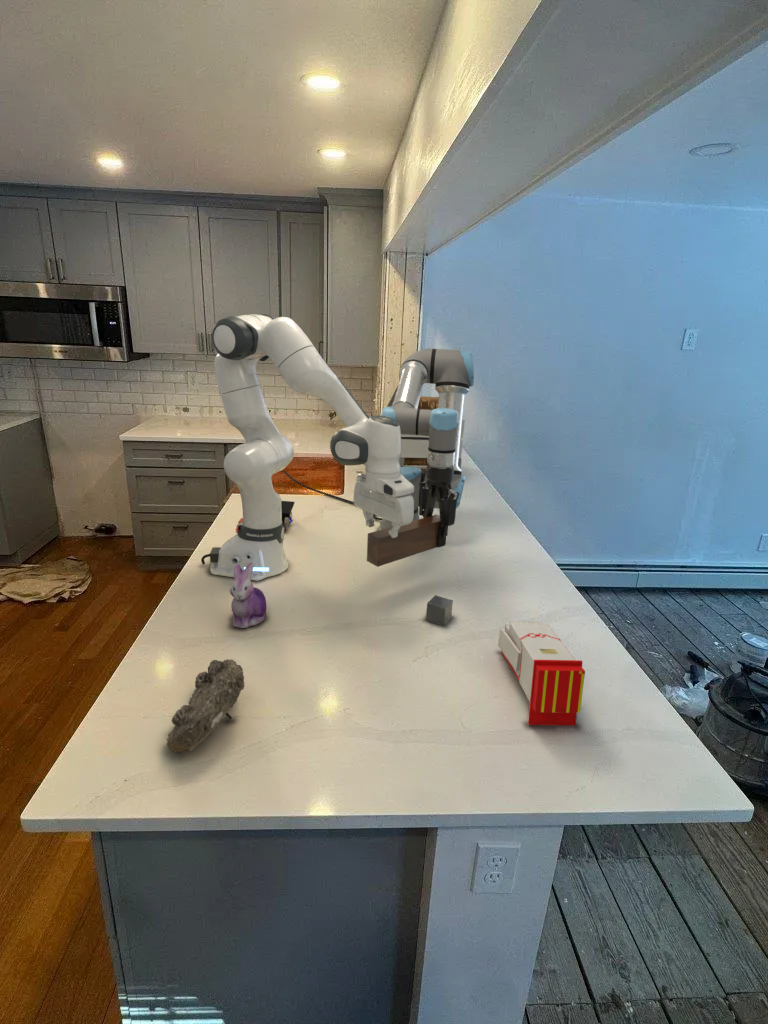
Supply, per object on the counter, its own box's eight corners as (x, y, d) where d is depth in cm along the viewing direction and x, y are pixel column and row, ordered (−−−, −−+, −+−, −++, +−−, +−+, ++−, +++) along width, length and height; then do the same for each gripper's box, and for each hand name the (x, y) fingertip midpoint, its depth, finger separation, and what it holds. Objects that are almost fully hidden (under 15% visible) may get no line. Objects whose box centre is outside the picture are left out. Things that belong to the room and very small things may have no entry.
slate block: (425, 620, 145) (427, 602, 144) (433, 611, 149) (435, 594, 148) (443, 625, 143) (445, 608, 141) (451, 617, 147) (453, 600, 145)
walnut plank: (366, 560, 152) (367, 533, 149) (434, 539, 168) (436, 514, 165) (377, 566, 149) (378, 538, 146) (445, 544, 165) (448, 518, 162)
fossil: (192, 660, 117) (244, 628, 112) (224, 691, 120) (276, 661, 115) (142, 746, 98) (202, 712, 93) (182, 779, 101) (242, 748, 96)
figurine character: (290, 537, 196) (295, 517, 209) (289, 518, 192) (295, 499, 206) (270, 536, 195) (277, 517, 209) (269, 517, 192) (276, 498, 206)
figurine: (235, 633, 135) (232, 576, 130) (225, 613, 144) (222, 559, 139) (273, 625, 139) (272, 570, 134) (262, 606, 148) (260, 553, 143)
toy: (544, 607, 134) (594, 667, 105) (539, 659, 137) (586, 732, 108) (493, 606, 134) (529, 666, 105) (489, 658, 137) (523, 731, 107)
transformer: (382, 463, 289) (386, 382, 275) (445, 464, 293) (451, 384, 279) (390, 482, 257) (394, 392, 243) (460, 483, 261) (468, 394, 247)
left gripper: (348, 473, 150) (347, 522, 154) (400, 492, 135) (397, 546, 140) (366, 469, 153) (365, 517, 158) (419, 488, 139) (416, 540, 144)
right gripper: (408, 460, 161) (404, 536, 169) (454, 475, 148) (447, 556, 156) (427, 456, 165) (422, 531, 173) (473, 471, 153) (465, 550, 161)
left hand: (381, 531), depth 149 cm, fingers open, 8 cm apart
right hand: (434, 542), depth 165 cm, fingers closed on walnut plank, 4 cm apart
